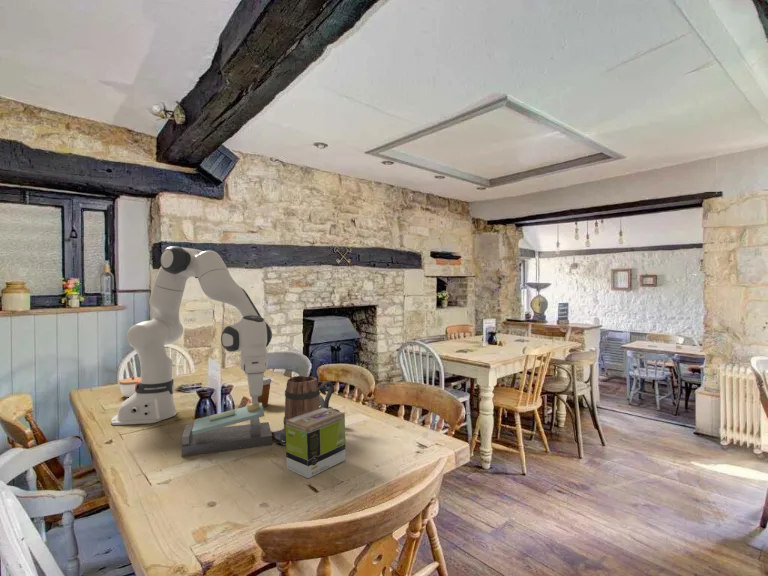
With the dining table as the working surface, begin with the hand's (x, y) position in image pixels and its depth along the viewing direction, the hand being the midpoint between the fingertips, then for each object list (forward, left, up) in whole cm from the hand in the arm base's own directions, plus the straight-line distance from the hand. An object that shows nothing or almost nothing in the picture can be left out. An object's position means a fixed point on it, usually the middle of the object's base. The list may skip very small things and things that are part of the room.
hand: (254, 403), depth 138 cm
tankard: (+19, -1, -13) cm, 23 cm away
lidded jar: (-52, +76, -13) cm, 93 cm away
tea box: (+16, -27, -13) cm, 34 cm away
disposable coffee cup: (+4, +39, -13) cm, 41 cm away
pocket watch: (+28, +21, -13) cm, 37 cm away
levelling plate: (-8, 0, -5) cm, 9 cm away
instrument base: (-8, 0, -12) cm, 15 cm away
